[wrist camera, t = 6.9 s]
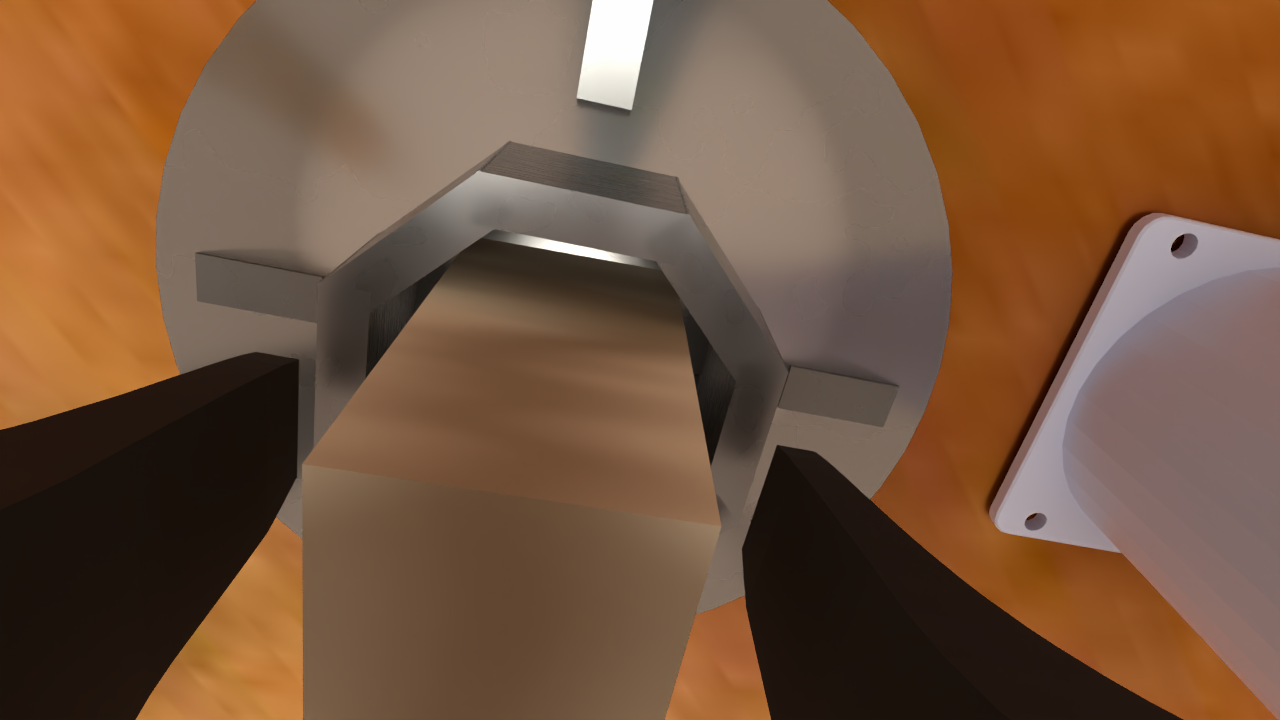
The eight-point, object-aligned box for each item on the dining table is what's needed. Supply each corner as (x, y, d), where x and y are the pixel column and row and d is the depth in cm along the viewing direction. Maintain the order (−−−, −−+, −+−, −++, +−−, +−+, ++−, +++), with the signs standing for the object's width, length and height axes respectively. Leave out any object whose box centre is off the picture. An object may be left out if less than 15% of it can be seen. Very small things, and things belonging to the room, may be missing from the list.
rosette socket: (1063, 13, 13) (1224, 9, 10) (803, 644, 20) (843, 782, 16) (161, -213, 12) (-48, -320, 8) (200, 553, 18) (94, 684, 15)
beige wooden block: (674, 272, 14) (721, 526, 7) (636, 442, 16) (644, 791, 9) (472, 235, 14) (302, 464, 7) (454, 414, 16) (303, 753, 8)
